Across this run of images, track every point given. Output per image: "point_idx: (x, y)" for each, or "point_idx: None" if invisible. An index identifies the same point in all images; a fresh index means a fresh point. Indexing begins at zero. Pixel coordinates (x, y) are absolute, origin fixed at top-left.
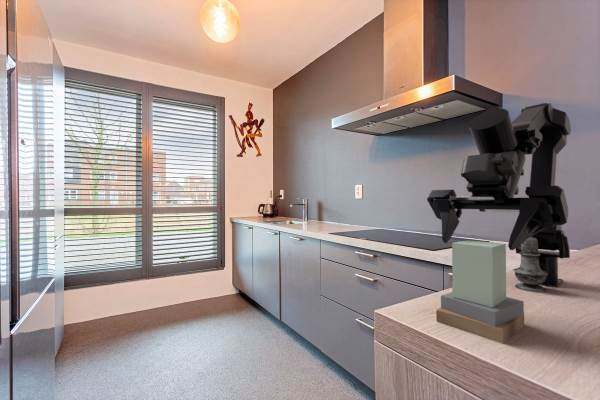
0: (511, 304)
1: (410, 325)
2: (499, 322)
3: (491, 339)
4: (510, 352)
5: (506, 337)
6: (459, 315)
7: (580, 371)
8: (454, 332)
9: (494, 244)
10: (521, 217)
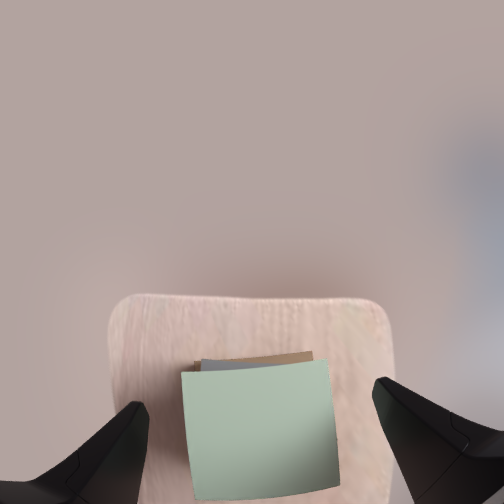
0: None
1: (319, 302)
2: None
3: None
4: (182, 343)
5: None
6: (269, 361)
7: (118, 356)
8: (263, 340)
9: (209, 454)
10: (70, 480)
